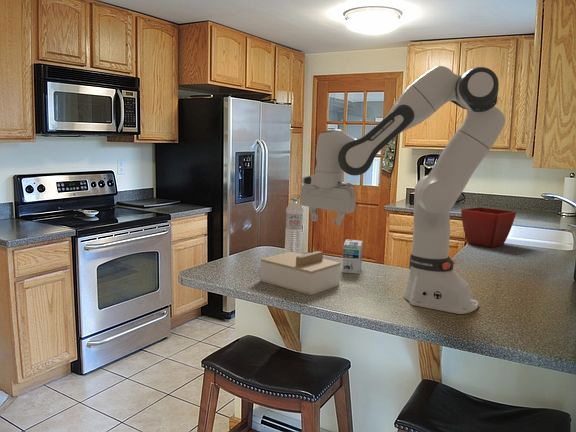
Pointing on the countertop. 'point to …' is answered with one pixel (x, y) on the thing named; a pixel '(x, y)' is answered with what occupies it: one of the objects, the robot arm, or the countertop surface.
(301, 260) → the tan box lid
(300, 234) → the water bottle
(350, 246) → the light bulb box
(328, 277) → the base
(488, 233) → the plant pot
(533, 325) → the countertop surface
